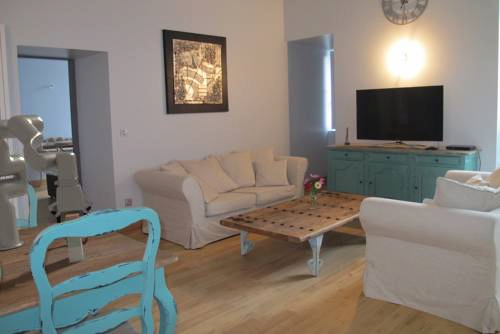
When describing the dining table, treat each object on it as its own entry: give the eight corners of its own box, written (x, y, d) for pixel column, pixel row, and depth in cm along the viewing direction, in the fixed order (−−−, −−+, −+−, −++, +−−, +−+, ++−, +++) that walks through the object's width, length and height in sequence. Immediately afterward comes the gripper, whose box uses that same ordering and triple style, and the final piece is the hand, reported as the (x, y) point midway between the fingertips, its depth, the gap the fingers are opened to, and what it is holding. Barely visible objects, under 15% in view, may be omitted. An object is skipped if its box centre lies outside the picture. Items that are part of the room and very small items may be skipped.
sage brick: (69, 242, 189) (67, 228, 188) (81, 241, 191) (80, 227, 190) (68, 248, 182) (66, 233, 181) (81, 246, 183) (79, 232, 182)
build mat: (68, 258, 190) (67, 256, 190) (86, 255, 193) (86, 254, 192) (67, 264, 182) (66, 263, 182) (86, 262, 184) (85, 260, 184)
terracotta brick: (67, 228, 188) (65, 214, 187) (80, 227, 190) (78, 213, 189) (66, 233, 181) (64, 219, 180) (79, 232, 182) (78, 217, 182)
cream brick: (70, 256, 190) (69, 242, 189) (83, 254, 192) (81, 241, 191) (69, 262, 182) (68, 248, 182) (83, 260, 184) (81, 246, 183)
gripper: (44, 186, 176) (49, 229, 179) (91, 182, 182) (95, 223, 184) (46, 183, 183) (50, 224, 186) (91, 179, 189) (95, 219, 191)
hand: (72, 224), depth 185 cm, fingers open, 9 cm apart
